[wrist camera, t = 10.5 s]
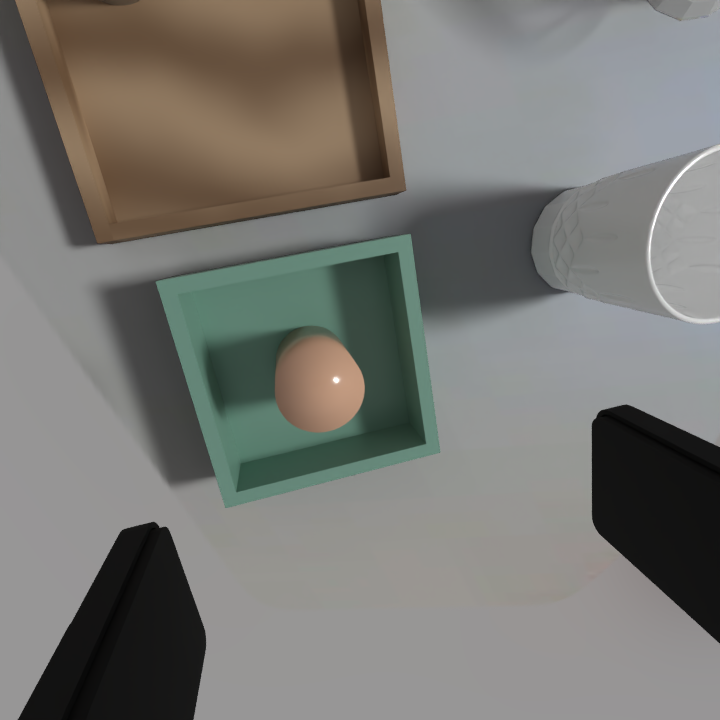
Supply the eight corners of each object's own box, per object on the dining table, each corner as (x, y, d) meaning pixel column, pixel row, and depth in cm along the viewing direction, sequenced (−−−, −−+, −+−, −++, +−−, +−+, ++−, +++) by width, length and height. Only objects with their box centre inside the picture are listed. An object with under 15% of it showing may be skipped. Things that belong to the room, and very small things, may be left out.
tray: (-13, -134, 19) (-46, -177, 17) (347, -156, 21) (353, -196, 19) (112, 243, 23) (97, 243, 22) (396, 194, 26) (406, 190, 24)
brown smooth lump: (268, 333, 26) (265, 358, 20) (339, 318, 26) (356, 338, 21) (284, 400, 27) (286, 441, 21) (351, 385, 28) (371, 421, 22)
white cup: (527, 311, 29) (648, 342, 20) (515, 191, 27) (644, 160, 17) (629, 285, 30) (791, 301, 21) (625, 166, 28) (805, 124, 18)
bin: (174, 276, 24) (155, 281, 21) (391, 235, 26) (410, 233, 22) (232, 473, 28) (225, 508, 24) (419, 426, 30) (440, 452, 26)
